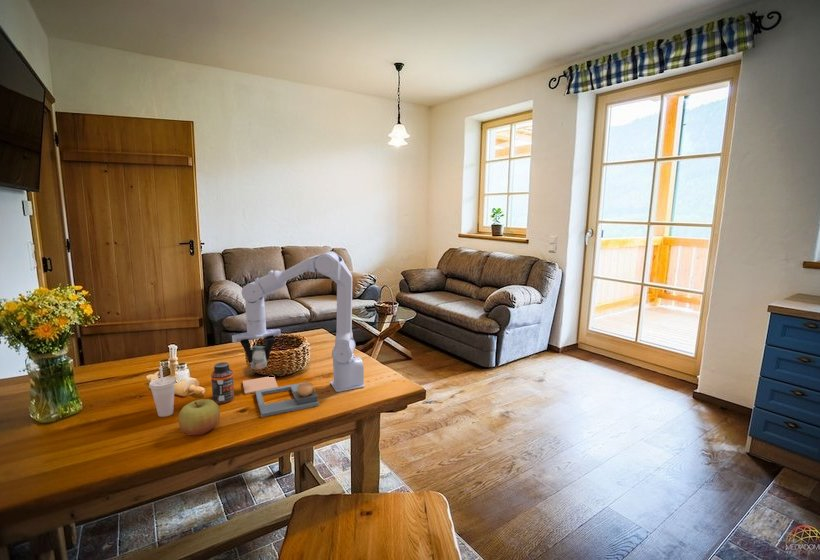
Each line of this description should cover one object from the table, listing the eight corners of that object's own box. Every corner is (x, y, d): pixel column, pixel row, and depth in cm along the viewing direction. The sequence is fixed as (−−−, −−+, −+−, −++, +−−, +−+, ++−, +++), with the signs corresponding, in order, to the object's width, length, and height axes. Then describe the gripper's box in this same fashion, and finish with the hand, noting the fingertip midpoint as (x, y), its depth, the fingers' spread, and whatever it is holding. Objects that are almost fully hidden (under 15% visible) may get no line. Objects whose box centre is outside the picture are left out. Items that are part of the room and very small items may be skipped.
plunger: (311, 392, 124) (310, 381, 124) (314, 398, 121) (314, 387, 120) (296, 395, 122) (296, 384, 122) (299, 401, 119) (299, 390, 118)
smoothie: (151, 421, 110) (145, 372, 108) (153, 411, 116) (148, 364, 114) (178, 416, 113) (173, 368, 111) (179, 406, 119) (174, 360, 116)
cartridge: (268, 363, 134) (267, 344, 133) (264, 369, 129) (263, 349, 128) (254, 363, 134) (253, 344, 133) (248, 369, 129) (247, 349, 128)
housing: (307, 384, 134) (306, 377, 133) (318, 405, 120) (318, 397, 119) (255, 394, 127) (255, 386, 126) (261, 417, 113) (261, 408, 112)
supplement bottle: (226, 405, 119) (223, 369, 117) (208, 403, 121) (205, 367, 119) (238, 396, 125) (236, 361, 123) (221, 394, 126) (218, 360, 124)
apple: (179, 426, 108) (176, 398, 107) (219, 417, 113) (217, 390, 111) (179, 444, 100) (176, 414, 98) (223, 434, 104) (220, 405, 103)
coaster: (273, 377, 140) (273, 375, 139) (278, 388, 131) (278, 387, 131) (242, 382, 135) (242, 380, 135) (245, 394, 126) (244, 392, 126)
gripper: (233, 325, 122) (236, 368, 124) (282, 319, 129) (284, 359, 132) (230, 320, 128) (233, 361, 130) (277, 314, 135) (279, 353, 138)
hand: (258, 360), depth 131 cm, fingers closed on cartridge, 5 cm apart
